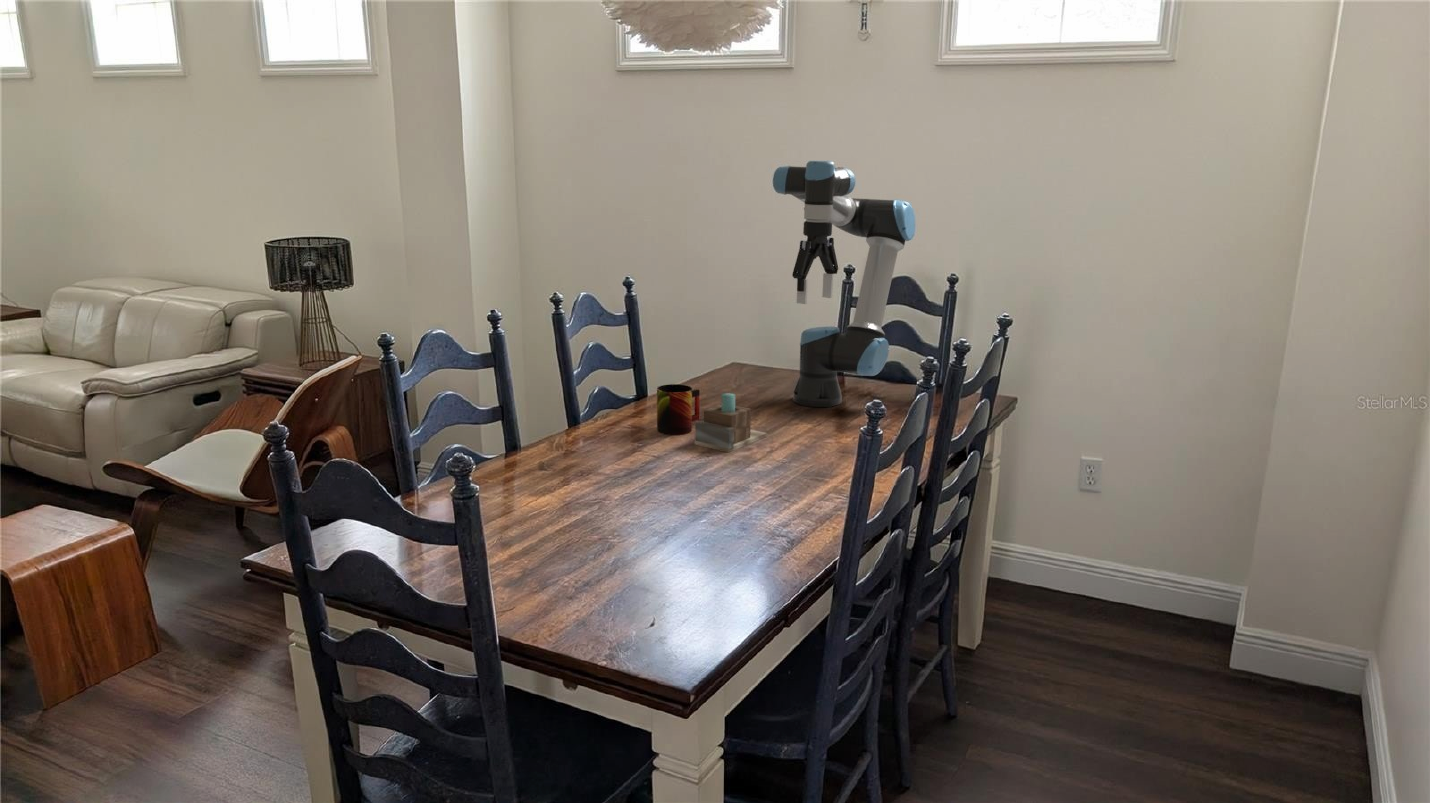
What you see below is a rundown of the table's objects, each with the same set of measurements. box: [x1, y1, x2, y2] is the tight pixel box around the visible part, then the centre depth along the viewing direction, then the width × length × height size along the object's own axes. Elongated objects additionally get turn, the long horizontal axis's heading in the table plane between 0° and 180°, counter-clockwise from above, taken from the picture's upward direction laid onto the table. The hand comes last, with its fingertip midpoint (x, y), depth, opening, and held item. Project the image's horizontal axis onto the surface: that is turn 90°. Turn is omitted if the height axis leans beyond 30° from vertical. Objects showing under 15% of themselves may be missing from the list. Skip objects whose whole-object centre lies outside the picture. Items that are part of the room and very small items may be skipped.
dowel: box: [721, 392, 736, 413], centre depth 266 cm, size 4×4×12 cm
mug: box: [656, 383, 700, 436], centre depth 279 cm, size 10×14×12 cm
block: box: [703, 403, 752, 444], centre depth 267 cm, size 9×9×8 cm
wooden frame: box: [694, 420, 767, 453], centre depth 269 cm, size 18×11×6 cm, turn 144°
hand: (814, 300), depth 270 cm, fingers open, 13 cm apart
